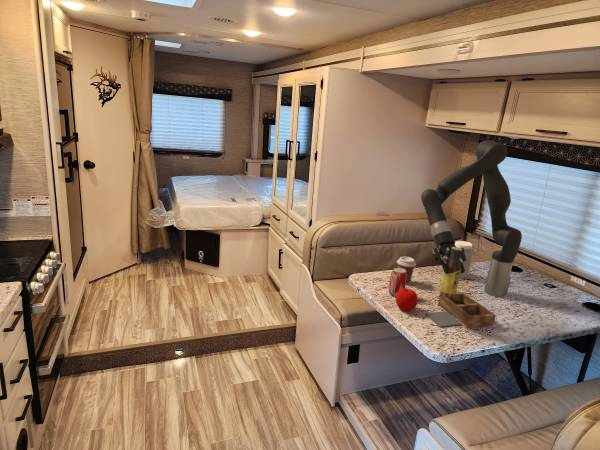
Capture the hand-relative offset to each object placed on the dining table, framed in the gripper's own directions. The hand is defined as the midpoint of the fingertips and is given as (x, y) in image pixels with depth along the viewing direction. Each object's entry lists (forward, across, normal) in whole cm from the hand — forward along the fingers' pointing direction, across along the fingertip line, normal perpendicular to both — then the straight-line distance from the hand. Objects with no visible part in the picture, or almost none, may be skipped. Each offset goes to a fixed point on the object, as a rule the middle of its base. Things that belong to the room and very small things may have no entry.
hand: (455, 273), depth 153 cm
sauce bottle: (+6, 0, +9) cm, 11 cm away
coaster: (+14, 0, +16) cm, 21 cm away
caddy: (+13, +12, +18) cm, 25 cm away
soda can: (-3, -8, +33) cm, 34 cm away
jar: (-13, +37, +44) cm, 59 cm away
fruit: (+6, -11, +24) cm, 27 cm away
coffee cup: (-11, +3, +42) cm, 43 cm away
